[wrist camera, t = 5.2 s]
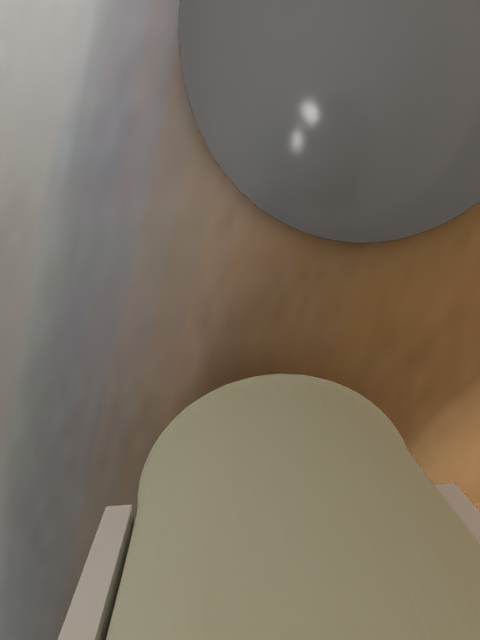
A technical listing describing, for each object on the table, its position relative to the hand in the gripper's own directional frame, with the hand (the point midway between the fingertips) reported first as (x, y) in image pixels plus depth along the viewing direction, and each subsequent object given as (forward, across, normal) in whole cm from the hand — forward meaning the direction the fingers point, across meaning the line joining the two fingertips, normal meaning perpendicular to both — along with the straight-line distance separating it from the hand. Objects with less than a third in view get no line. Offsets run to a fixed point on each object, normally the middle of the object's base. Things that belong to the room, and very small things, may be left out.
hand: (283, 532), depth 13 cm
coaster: (+4, +4, +14) cm, 15 cm away
